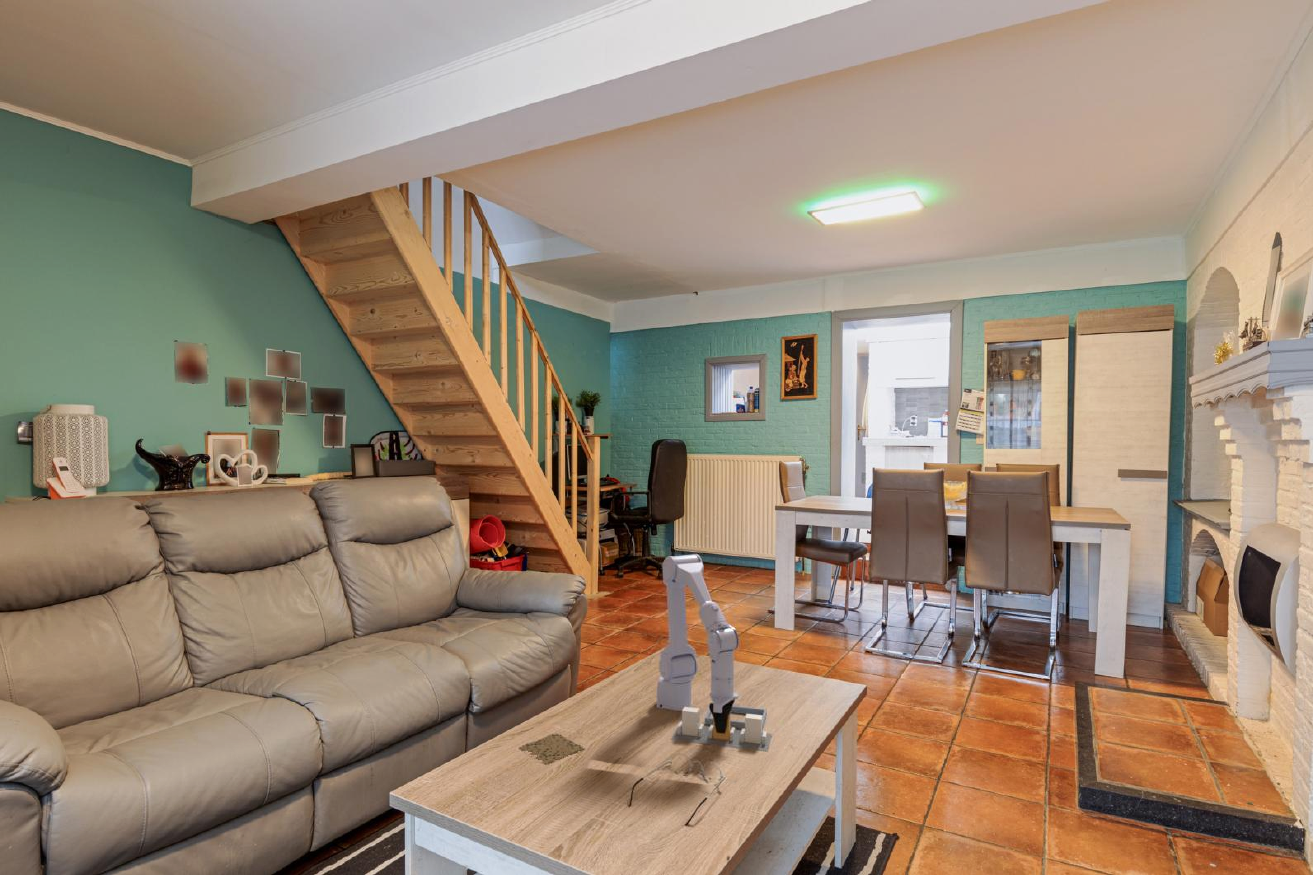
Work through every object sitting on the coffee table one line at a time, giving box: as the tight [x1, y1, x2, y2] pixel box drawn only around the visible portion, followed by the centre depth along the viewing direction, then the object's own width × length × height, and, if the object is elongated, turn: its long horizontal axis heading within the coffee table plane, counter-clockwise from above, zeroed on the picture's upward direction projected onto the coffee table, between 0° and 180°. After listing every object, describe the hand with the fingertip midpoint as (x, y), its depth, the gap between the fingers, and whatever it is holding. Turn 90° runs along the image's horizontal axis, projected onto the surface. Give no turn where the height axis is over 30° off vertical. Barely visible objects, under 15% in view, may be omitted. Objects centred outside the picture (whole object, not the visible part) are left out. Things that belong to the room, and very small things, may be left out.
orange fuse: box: [712, 712, 732, 740], centre depth 174 cm, size 4×3×6 cm, turn 76°
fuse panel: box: [670, 720, 773, 753], centre depth 174 cm, size 24×10×4 cm, turn 75°
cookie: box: [518, 733, 585, 766], centre depth 170 cm, size 12×12×1 cm
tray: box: [704, 705, 767, 732], centre depth 185 cm, size 15×10×3 cm
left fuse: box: [681, 706, 701, 736], centre depth 176 cm, size 4×3×6 cm, turn 76°
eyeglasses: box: [629, 753, 726, 826], centre depth 149 cm, size 16×19×5 cm
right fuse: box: [744, 714, 763, 744], centre depth 172 cm, size 4×3×6 cm, turn 76°
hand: (721, 729), depth 174 cm, fingers closed on orange fuse, 3 cm apart
